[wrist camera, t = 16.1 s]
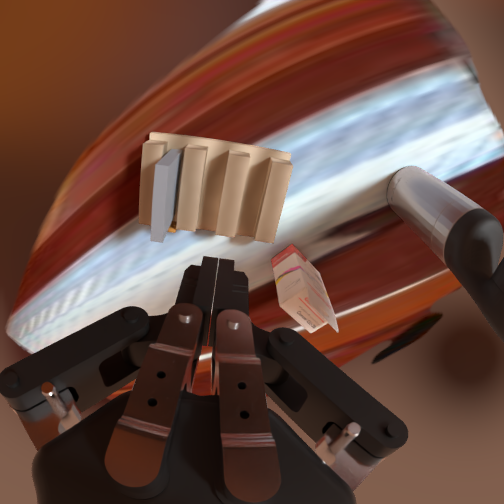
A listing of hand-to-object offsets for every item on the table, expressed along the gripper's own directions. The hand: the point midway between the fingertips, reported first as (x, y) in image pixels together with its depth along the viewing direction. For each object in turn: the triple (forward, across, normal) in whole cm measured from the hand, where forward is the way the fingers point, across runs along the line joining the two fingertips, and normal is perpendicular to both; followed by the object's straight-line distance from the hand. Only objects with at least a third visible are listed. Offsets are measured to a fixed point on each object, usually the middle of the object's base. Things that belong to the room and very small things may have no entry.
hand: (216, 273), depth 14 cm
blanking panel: (+29, +8, +6) cm, 31 cm away
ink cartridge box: (+31, -13, +18) cm, 38 cm away
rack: (+30, +3, +6) cm, 31 cm away
